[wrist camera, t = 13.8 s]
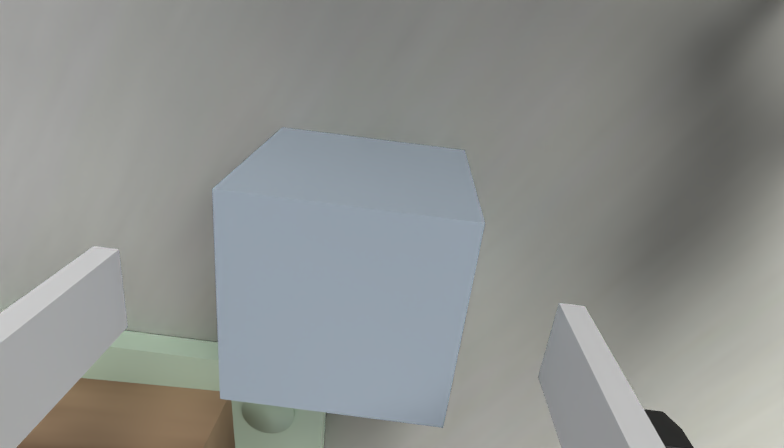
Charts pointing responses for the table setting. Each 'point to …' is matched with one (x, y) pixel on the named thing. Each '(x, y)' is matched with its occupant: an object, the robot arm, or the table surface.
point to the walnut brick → (135, 418)
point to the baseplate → (205, 387)
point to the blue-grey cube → (345, 275)
